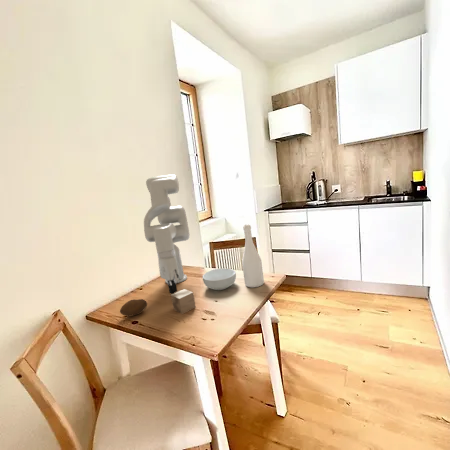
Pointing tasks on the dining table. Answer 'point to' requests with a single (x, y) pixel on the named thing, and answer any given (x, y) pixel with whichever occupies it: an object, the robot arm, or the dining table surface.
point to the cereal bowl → (219, 278)
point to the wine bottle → (251, 261)
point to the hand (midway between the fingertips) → (173, 292)
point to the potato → (133, 307)
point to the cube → (183, 301)
